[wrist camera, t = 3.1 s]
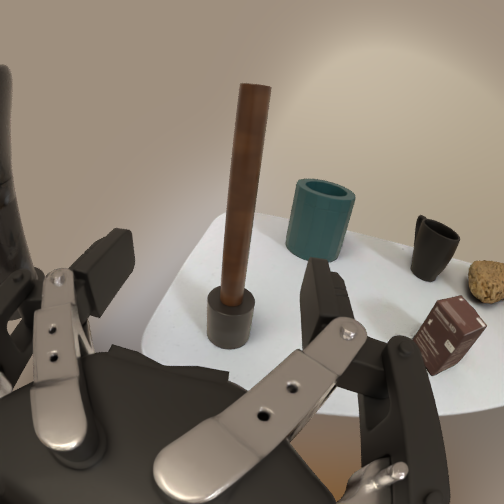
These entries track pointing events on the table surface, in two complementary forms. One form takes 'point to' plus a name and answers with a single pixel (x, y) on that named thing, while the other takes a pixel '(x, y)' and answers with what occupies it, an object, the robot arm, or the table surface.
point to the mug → (432, 248)
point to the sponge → (487, 281)
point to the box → (448, 333)
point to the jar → (319, 219)
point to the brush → (239, 222)
